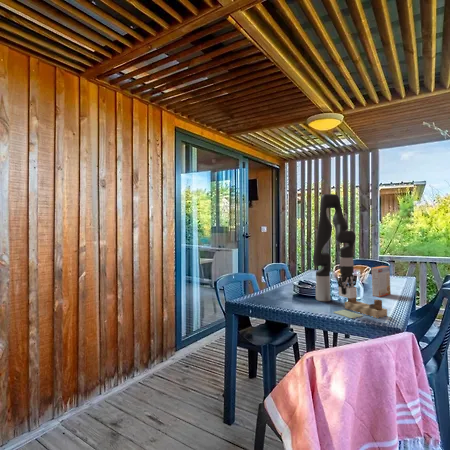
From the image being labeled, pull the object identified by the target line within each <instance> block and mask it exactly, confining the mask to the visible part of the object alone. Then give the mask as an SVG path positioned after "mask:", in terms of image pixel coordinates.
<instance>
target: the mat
mask: <svg viewBox="0 0 450 450" xmlns="http://www.w3.org/2000/svg"><path fill="white" fill-rule="evenodd" d="M333 314H337V315H339V316H342V317H344V316H345V318H347V317H348V319H350V318H353V319H357V318H356V317H358V318H362V317H361V316H363V317H364V314H361V313H358V312H355V311H351V310H348V309H340V310H336V311H333Z"/></svg>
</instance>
